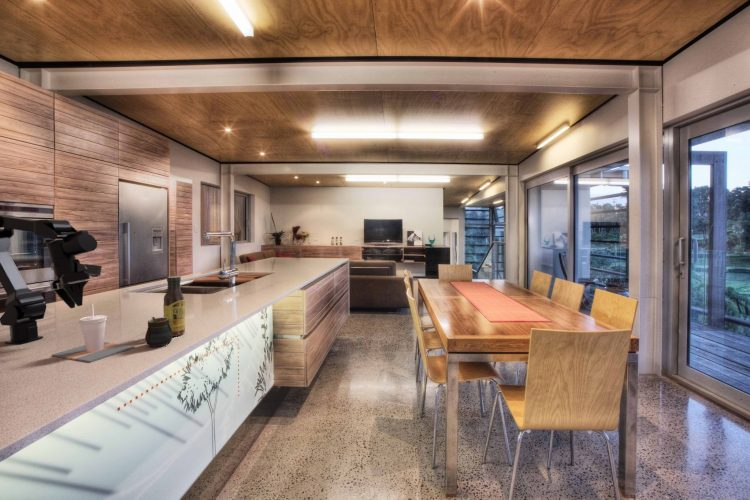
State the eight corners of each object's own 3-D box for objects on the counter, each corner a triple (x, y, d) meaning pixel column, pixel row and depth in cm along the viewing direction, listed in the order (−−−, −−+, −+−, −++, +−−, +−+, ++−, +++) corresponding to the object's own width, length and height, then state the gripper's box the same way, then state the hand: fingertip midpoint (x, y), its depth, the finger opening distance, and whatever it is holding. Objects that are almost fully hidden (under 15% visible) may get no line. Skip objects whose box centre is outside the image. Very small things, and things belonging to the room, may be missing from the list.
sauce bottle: (175, 338, 111) (173, 278, 110) (159, 337, 112) (156, 277, 111) (190, 332, 117) (188, 275, 116) (174, 331, 118) (172, 275, 117)
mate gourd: (174, 339, 109) (173, 309, 109) (171, 347, 102) (170, 315, 102) (148, 342, 106) (147, 311, 106) (143, 350, 99) (141, 317, 99)
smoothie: (76, 355, 95) (74, 306, 94) (85, 348, 101) (82, 301, 100) (105, 351, 97) (102, 304, 97) (111, 345, 103) (109, 300, 102)
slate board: (52, 355, 96) (51, 354, 96) (98, 342, 107) (98, 341, 107) (90, 362, 91) (90, 361, 91) (134, 347, 102) (134, 346, 102)
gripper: (103, 249, 106) (116, 297, 106) (87, 259, 117) (99, 302, 118) (56, 255, 97) (70, 307, 98) (44, 265, 108) (57, 312, 109)
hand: (76, 307), depth 106 cm, fingers open, 9 cm apart
